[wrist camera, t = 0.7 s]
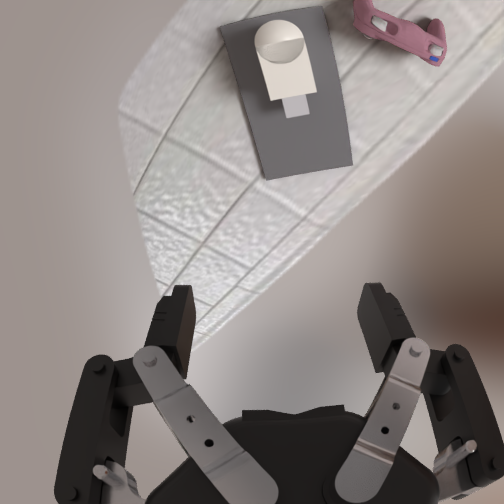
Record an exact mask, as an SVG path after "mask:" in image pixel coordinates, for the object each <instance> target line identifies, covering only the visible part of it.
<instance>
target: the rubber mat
mask: <svg viewBox="0 0 504 504" xmlns="http://www.w3.org/2000/svg"><path fill="white" fill-rule="evenodd" d="M273 20H285V21H288V22H291V23H293V24H294V25H296V26H297V27H298V28H299V29H300V31H301V32H302V34H303V37H304V40H305V44H306V48H307V52H308V56H309V60H310V64H311V68H312V72H313V77H314V81H315V86H316V90H317V92H315V93H309V94H305V95H306V99H307V103H308V108H309V113H310V114H307V115H302V116H296V117H291V118H286V114H285V110H284V106H283V102H282V99H277V100H272V101H271V100H270V96H269V93H268V89H267V85H266V82H265V78H264V75H263V71H262V68H261V64H260V61H259V58H258V54H257V51H256V47H255V35H256V33H257V31H258V29H259V28H260V27H261V26H262V25H264V24H265V23H267V22H269V21H273ZM220 29H221V32H222V35H223V38H224V41H225V45H226V48H227V51H228V54H229V57H230V60H231V63H232V66H233V70H234V73H235V76H236V79H237V82H238V86H239V89H240V92H241V96H242V99H243V102H244V105H245V109H246V112H247V115H248V119H249V122H250V125H251V129H252V132H253V136H254V139H255V143H256V146H257V150H258V153H259V156H260V160H261V164H262V167H263V171H264V174H265V178H266V180H272V179H277V178H282V177H287V176H293V175H298V174H304V173H309V172H315V171H321V170H327V169H333V168H339V167H346V166H352V165H353V162H352V153H351V146H350V139H349V132H348V125H347V119H346V112H345V106H344V101H343V95H342V90H341V84H340V79H339V74H338V69H337V65H336V60H335V55H334V51H333V47H332V42H331V38H330V34H329V30H328V26H327V22H326V19H325V15H324V11H323V8H322V6H318V7H310V8H303V9H296V10H290V11H284V12H279V13H274V14H269V15H264V16H259V17H255V18H251V19H247V20H243V21H239V22H235V23H231V24H227V25H224V26H220Z"/></svg>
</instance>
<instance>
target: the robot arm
mask: <svg viewBox="0 0 504 504" xmlns="http://www.w3.org/2000/svg"><path fill="white" fill-rule="evenodd" d="M357 314H358V320H359V323H360V326H361V329H362V332H363V334H364V338H365V341H366V344H367V347H368V350H369V353H370V356H371V359H372V362H373V366H374V369H375V372H376V373H379V372H384V374H385V378H384V379H383V382H382V384H381V386H380V388H379V390H378V392H377V394H376V396H375V398H374V400H373V402H372V404H371V406H370V407H369V409H368V411H367V413H366V414H365V416H364V417H362V416H360V415H358V414H355V413H352V412H348V411H345V409H344V405H336V406H325V407H318V408H315V409H312V410H309V411H306V412H303V413H299V414H287V413H282V412H276V411H270V410H242V417H238V418H235V419H232V420H230V421H228V422H225V423H224V424H221V423H220V422H219V421H218V419H217V418H216V417H215V416H214V414H213V413H212V412H211V410H210V409H209V408H208V407H207V405H206V404H205V403H204V402H203V400H202V399H201V398H200V396H199V395H198V394H197V393H196V391H195V390H194V388H193V387H192V386H191V385H190V384H189V385H188V384H187V383H186V382H185V381H184V379H186V378H187V372H188V365H189V358H190V353H191V346H192V340H193V334H194V329H195V323H196V309H195V303H194V297H193V291H192V286H191V285H175V286H174V289H173V292H172V296H163V298H162V299H161V300H160V301H159V302H158V303H157V306H156V309H155V313H154V315H153V318H152V322H151V325H150V328H149V331H148V335H147V338H146V341H145V345H144V347H143V348H141V349H139V351H137V352H136V353H135V355H134V357H132V358H129V359H125V360H119V361H114V362H113V360H112V359H111V358H110V357H109V356H107V355H96V356H94V357H92V358H90V359H89V360H88V361H87V362H86V364H85V366H84V369H83V372H82V375H81V379H80V382H79V385H78V389H77V392H76V395H75V399H74V403H73V406H72V410H71V413H70V417H69V421H68V425H67V429H66V433H65V438H64V441H63V446H62V450H61V455H60V460H59V465H58V470H57V475H56V481H55V486H54V495H55V498H56V500H57V502H58V503H59V504H438V502H441V501H444V500H447V499H450V498H452V499H454V500H458V499H462V498H464V497H466V496H468V495H470V494H472V493H474V492H476V491H478V490H480V489H482V488H483V487H486V486H487V485H489V484H491V483H493V482H494V481H496V480H498V479H500V478H501V477H503V476H504V443H503V440H502V437H501V433H500V430H499V427H498V424H497V421H496V418H495V415H494V413H493V410H492V407H491V404H490V401H489V399H488V396H487V394H486V391H485V389H484V386H483V383H482V381H481V379H480V376H479V374H478V372H477V369H476V367H475V365H474V362H473V360H472V358H471V356H470V353H469V352H468V351H467V349H466V348H464V347H463V346H461V345H458V344H453V345H450V346H448V348H447V349H446V351H439V350H432V349H429V347H428V345H427V344H426V343H425V342H424V341H422V340H421V339H418V338H416V336H415V334H414V333H413V330H412V328H411V326H410V324H409V322H408V320H407V317H406V316H405V313H404V311H403V309H402V308H401V305H400V303H399V301H398V300H397V298H395V297H394V296H393V295H392V294H391V293H386V292H385V289H384V287H383V285H382V284H381V283H365V285H364V287H363V291H362V294H361V298H360V301H359V305H358V310H357ZM420 393H423V395H424V398H425V401H426V405H427V409H428V412H429V416H430V419H431V423H432V427H433V431H434V435H435V439H436V443H437V448H438V452H439V453H438V454H437V456H436V457H435V460H434V467H433V472H432V471H431V470H429V469H428V468H427V467H426V466H424V465H423V464H422V463H420V462H419V461H418V460H417V459H415V458H414V457H413V456H412V455H410V454H409V453H408V452H407V451H405V450H404V449H403V448H402V447H400V446H399V445H400V443H401V441H402V439H403V436H404V434H405V432H406V430H407V427H408V425H409V422H410V420H411V417H412V415H413V412H414V410H415V407H416V404H417V402H418V399H419V396H420ZM151 402H153V403H154V405H155V407H156V408H157V410H158V411H159V413H160V415H161V416H162V418H163V419H164V421H165V423H166V424H167V426H168V427H169V429H170V430H171V432H172V433H173V435H174V437H175V438H176V440H177V441H178V443H179V444H180V446H181V447H182V448H183V450H184V451H185V453H186V454H187V456H188V458H187V459H186V460H185V461H184V462H183V463H182V464H181V465H180V466H179V467H178V468H177V469H176V470H175V471H174V472H173V473H171V474H170V475H169V476H168V477H167V478H166V479H165V480H164V481H163V482H162V483H161V484H160V485H159V486H158V487H156V488H155V489H154V490H153V491H152V492H151V493H150V495H149V496H148V498H147V499H146V500H144V499H142V498H141V496H140V495H139V493H138V490H137V483H136V480H135V478H134V476H133V475H132V474H131V473H129V472H128V471H126V470H125V460H126V453H127V452H126V451H127V445H128V438H129V431H130V424H131V418H132V412H133V406H135V405H140V404H145V403H151Z"/></svg>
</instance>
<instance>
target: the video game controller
mask: <svg viewBox="0 0 504 504" xmlns="http://www.w3.org/2000/svg"><path fill="white" fill-rule="evenodd" d="M353 10H354V18H355V20H354V22H353V25H354V27H355V28H356V29H358V30H359V31H361V32H362V34H363V35H364V36H365V37H366V38H368V39H374V38H375V39H378V40H383V41H385V40H386V41H388V42H390V43H391V44H393V45H395V46H398V47H400V48H402V49H404V50H406V51H408V52H411V53H413V54H415V55H417V56H419V57H420V58H421V59H423V60H424V61H426V62H428V63H429V64H431V65H434V66H440V64H441V63H442V61H443V60H444V58H445V54H446V51H447V45H446V37H445V29H444V25H443V23H442V22H441V21H440V20H439V19H433V20H432V21H431V22H430V24H429V25H428V28H427V32H425V31H423V30H422V29H421V28H420V27H419V26H417V25H416V24H414V23H412V22H410V21H407V20H403V19H398V18H396V17H394V16H391V15H389V14H387V13H385V12H382V11H380V10H377V9H375V8H374V6H373V3H372V0H354V1H353Z"/></svg>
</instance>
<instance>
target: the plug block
mask: <svg viewBox="0 0 504 504" xmlns="http://www.w3.org/2000/svg"><path fill="white" fill-rule="evenodd" d="M255 47H256V51H257V54H258V58H259V61H260V64H261V68H262V71H263V75H264V78H265V82H266V85H267V89H268V93H269V96H270V100H271V101H272V100H277V99H282V102H283V106H284V110H285V114H286V118H291V117H296V116H302V115H307V114H310V113H309V108H308V103H307V99H306V95H305V94H309V93H315V92H317V90H316V86H315V81H314V77H313V72H312V68H311V64H310V60H309V56H308V52H307V48H306V44H305V40H304V37H303V34H302V32H301V31H300V29H299V28H298V27H297V26H296V25H294V24H293V23H291V22H288V21H285V20H273V21H269V22H267V23H265V24H264V25H262V26H261V27H260V28H259V29H258V31H257V33H256V35H255Z"/></svg>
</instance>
